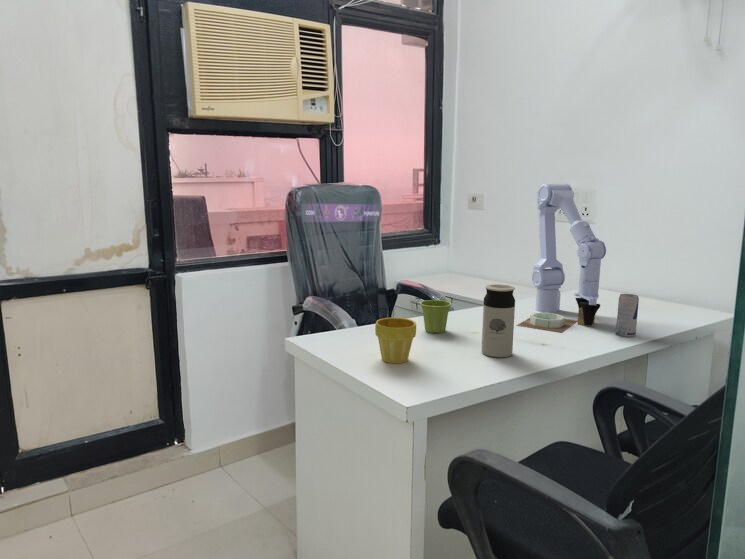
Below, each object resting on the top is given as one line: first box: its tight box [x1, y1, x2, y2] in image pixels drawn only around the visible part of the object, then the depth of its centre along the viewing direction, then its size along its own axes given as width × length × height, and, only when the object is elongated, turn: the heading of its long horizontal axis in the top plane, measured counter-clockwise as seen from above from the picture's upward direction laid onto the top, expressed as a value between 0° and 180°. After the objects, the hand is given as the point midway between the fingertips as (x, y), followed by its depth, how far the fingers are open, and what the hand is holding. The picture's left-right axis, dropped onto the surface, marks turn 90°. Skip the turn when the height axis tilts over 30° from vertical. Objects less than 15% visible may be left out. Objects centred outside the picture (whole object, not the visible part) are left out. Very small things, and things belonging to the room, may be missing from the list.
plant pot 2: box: [419, 299, 452, 334], centre depth 166 cm, size 9×9×9 cm
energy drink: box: [615, 293, 640, 338], centre depth 163 cm, size 5×5×12 cm
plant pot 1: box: [374, 317, 417, 364], centre depth 139 cm, size 10×10×10 cm
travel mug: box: [481, 283, 516, 359], centre depth 144 cm, size 8×8×18 cm
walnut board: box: [515, 317, 578, 334], centre depth 173 cm, size 18×14×1 cm
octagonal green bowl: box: [529, 312, 566, 328], centre depth 172 cm, size 10×10×2 cm
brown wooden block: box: [577, 307, 596, 327], centre depth 172 cm, size 4×4×6 cm
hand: (585, 322), depth 172 cm, fingers closed on brown wooden block, 5 cm apart
